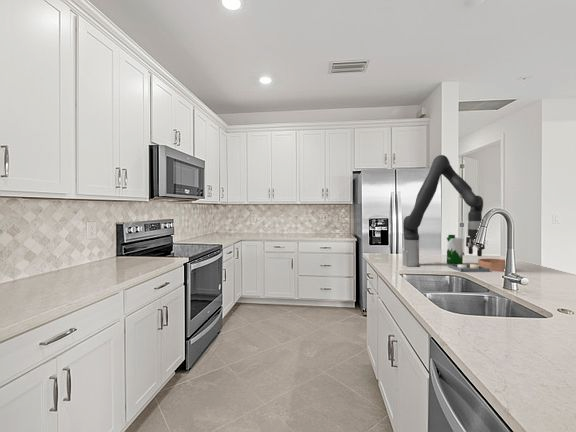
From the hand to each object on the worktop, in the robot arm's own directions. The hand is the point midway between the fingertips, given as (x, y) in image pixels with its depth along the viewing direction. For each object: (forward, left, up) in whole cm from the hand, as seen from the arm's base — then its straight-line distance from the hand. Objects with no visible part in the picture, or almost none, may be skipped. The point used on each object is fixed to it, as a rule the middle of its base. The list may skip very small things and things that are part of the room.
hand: (475, 255), depth 189 cm
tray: (-4, 0, -9) cm, 10 cm away
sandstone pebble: (0, 0, -9) cm, 9 cm away
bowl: (+14, +2, -9) cm, 17 cm away
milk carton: (-1, +20, -10) cm, 22 cm away
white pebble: (-8, 0, -9) cm, 12 cm away
